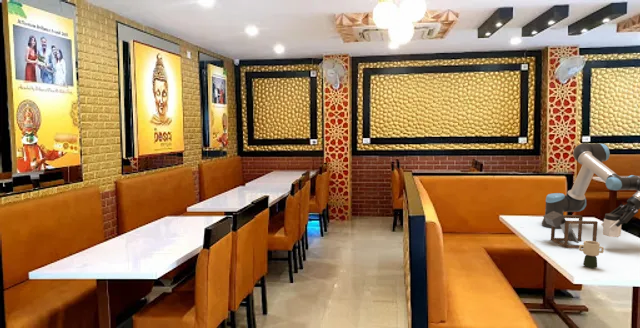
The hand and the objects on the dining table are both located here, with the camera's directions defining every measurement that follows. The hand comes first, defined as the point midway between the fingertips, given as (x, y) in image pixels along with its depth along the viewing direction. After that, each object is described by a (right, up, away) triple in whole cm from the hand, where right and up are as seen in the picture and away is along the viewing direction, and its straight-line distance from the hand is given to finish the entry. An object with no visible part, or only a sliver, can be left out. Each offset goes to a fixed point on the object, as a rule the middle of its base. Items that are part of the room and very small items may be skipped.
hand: (606, 227), depth 271 cm
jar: (+3, -5, +1) cm, 6 cm away
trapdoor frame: (-13, -12, +14) cm, 22 cm away
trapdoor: (-24, -4, +13) cm, 28 cm away
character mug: (-28, -16, -32) cm, 45 cm away
